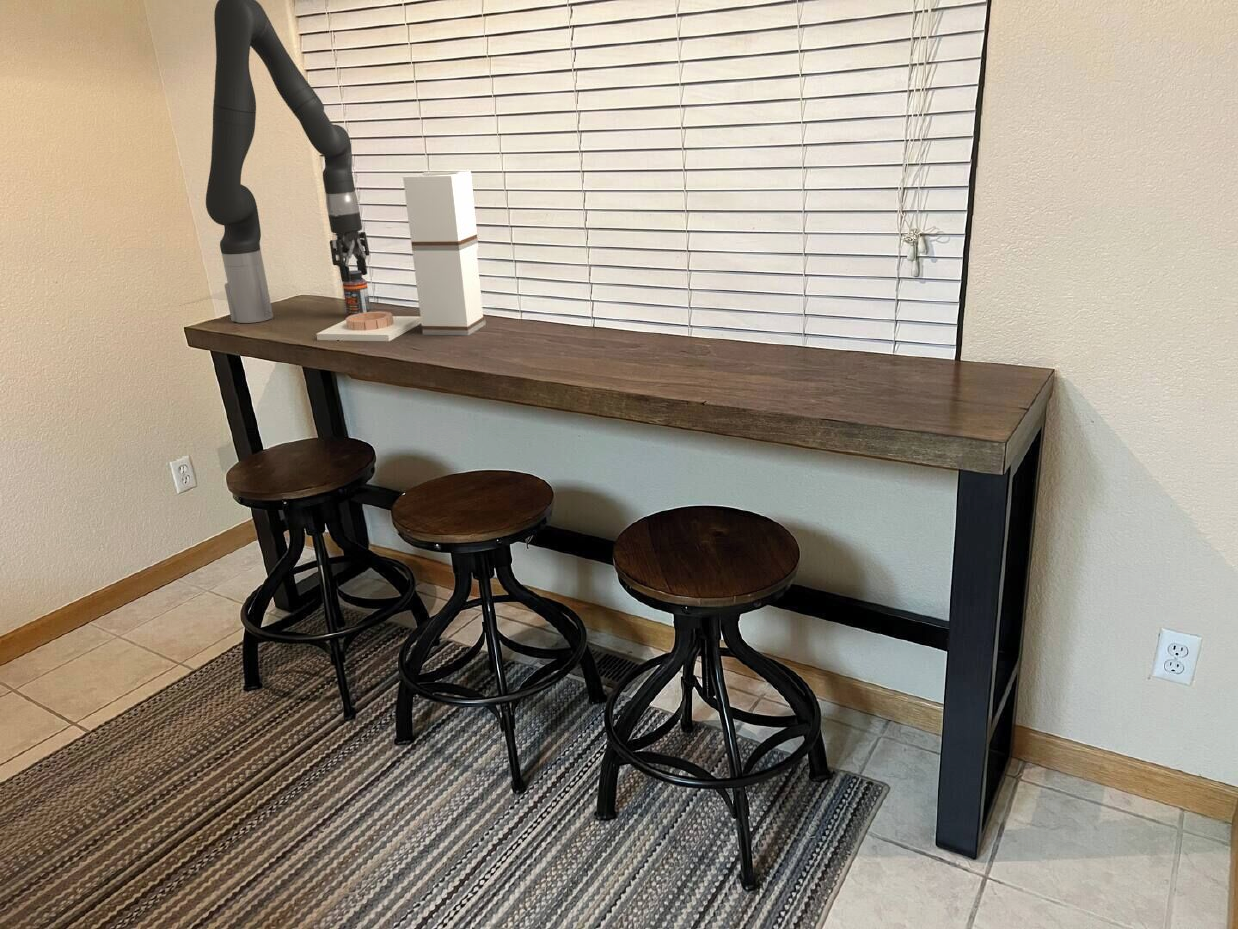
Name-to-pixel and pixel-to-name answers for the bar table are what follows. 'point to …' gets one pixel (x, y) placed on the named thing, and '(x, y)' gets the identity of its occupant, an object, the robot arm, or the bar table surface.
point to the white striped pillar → (445, 252)
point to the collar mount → (370, 327)
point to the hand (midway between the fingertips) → (355, 278)
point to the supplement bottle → (356, 294)
